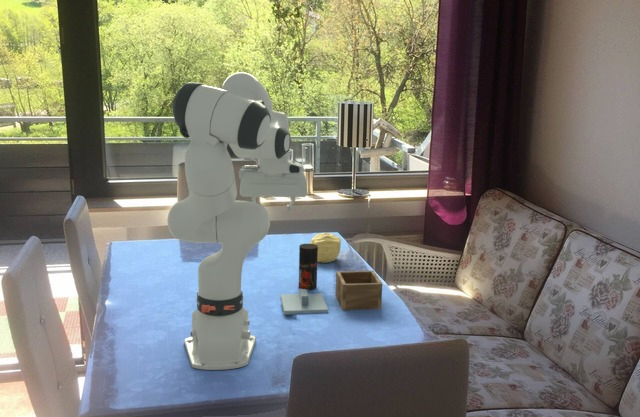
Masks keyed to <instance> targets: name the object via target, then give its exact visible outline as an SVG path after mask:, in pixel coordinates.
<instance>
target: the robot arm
mask: <svg viewBox="0 0 640 417" xmlns="http://www.w3.org/2000/svg"><path fill="white" fill-rule="evenodd" d="M273 108H274V107H273V102H272V100H271V97H270V95H269V93H268V91H267V89H266V88H265V87H264V85H263V84H262V83H261V81H260V80H258V79H257V78H256V77H255V76H253V75H252V74H250V73H249V72H248V73H247V72H235V73H233V74H230V75H229V76H228V77H227V78H226V79H225V80H224V82H223V83H222V86H221V88H219V87H214V86H209V85H205V84H204V83H203V82H202V83H201V82H187V83H184V84H183V85H181V87H180V88H179V89H178V90H177V91H176V93H175V96H174V99H173V102H172V115H173V118H174V121H175V124H176V125H177V127H178V128H179V133H180V135H181V136H182V137H183V138H185V139H190V142H189V144H188V146H187V148H186V150H185V156H184V174H185V179H186V180H185V181H186V183H187V188H188V196H186V197H185V198H184V199H182V200H180V201H177V202H175V203H174V204H173V206H172V207H171V208H170V210H169V212H168V214H167V227H168V231H169V232H170V234H171V235H172V236H173V238H175V239H176V240H180V241H184V242H190V243H194V244H195V243H196V244H197V243H199V244H201V243H202V244H203V243H204V244H205V243H206V244H211V243H212V244H221V249H220V250H219V251H217V252H214V253H212V254H210V255H207V256H206V257H204V258H203V259H202V260H201V262H200V263H199V264H198V268H197V276H198V278H197V279H198V282H197V284H198V287H197V288H198V291H197V293H196V309H195V310H194V311H193V312H192V313H191V332H190V336H189V337H186V338H184V346H185V350H186V354H187V356H188V360H189V363H190V366H191V368H193V369H197V370H206V371H209V370H210V371H211V370H212V371H216V370H217V371H219V370H220V371H221V370H231V369H237V368H238V369H239V368H242V367H245V366H247V365H249V362H250V359H251V357H252V354H253V351H254V348H255V346H256V342H257V340H256V339H257V338H256V336H255V335H252V334H251V330H249V326H250V323H251V322H250V320H249V311H248V310H247V309H246V308H244V295H243V294H244V293H243V290H242V276H243V274H242V273H243V265H244V262H245V259H246V257H247V256H248V253H249V252H250V251H251V250H252V249H253V248H254V247H255V246H256V245H257V244H258V243H260V242H261V241H262V240H264V239H265V237H266V236H267V234H268V232H269V231H270V230H269V229H270V226H271V218H270V214H269V211H268V210H267V208H266V207H265V206H264V205H263V204H262V203H258V202H256V201H257V198H289V199H290V202H289V204H286V212H292V208H293V207H292V206H294V204H295V202H296V198H305V197H306V196H307V195H308V181H307V178H306V175H305V173H304V171H305V170H304V169H305V168H304V165H303V164H302V163H301V162H298V161H294V160H291V159H290V154H289V152H290V150H291V133H290V127H289V126H290V125H289V118H288V117H289V116H288V114H287V113H285V112H284V111H277V110H273ZM232 159H233V160H234V159H235V160H237V159H239V160H240V159H248V160H249V159H252V160H258V165H257V164H256V165H247V164H246V165H244V166H241V167H240V168H238V169H239V170H238V179H239V180H240V185H239V195H240V196H241V197H243V198H244V197H247V198H248V197H249V198H250V197H251V201H249V200H238V199H237V200H236V198H237V196H238V190H237V189H238V187H237V182H236V175H235V167H234V164H233V161H232Z"/></svg>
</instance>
